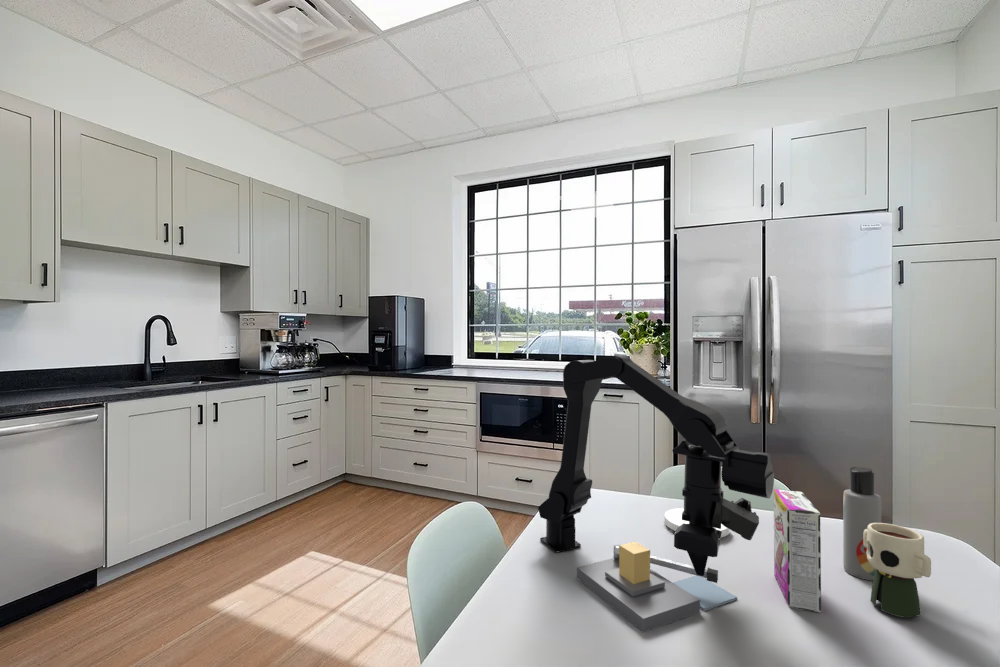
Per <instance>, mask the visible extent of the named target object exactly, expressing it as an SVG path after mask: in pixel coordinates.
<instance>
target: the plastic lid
mask: <svg viewBox="0 0 1000 667" xmlns="http://www.w3.org/2000/svg"><path fill="white" fill-rule="evenodd" d="M683 511H684V507H679V508H671V509H669V510H667V511H665V512H664V515H663V516H664V517H663V518H664V520H663V522H664V524H665V526H666V527H668V528H669V529H670V530H673V531H674V532H676V530H677V528H678V527H679V526H681V525H682V524H683V523H684V524H689V521H685V520H682V513H683ZM715 529H716V530H719V531H721V532H722V534H721V538H725V537H726V536H728V535H729V534H730V529H728V528H727V527H725V526H723V525H722V524H721V529H718V528H715ZM721 538H720V539H721Z"/></svg>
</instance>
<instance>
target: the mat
mask: <svg viewBox="0 0 1000 667" xmlns="http://www.w3.org/2000/svg"><path fill="white" fill-rule="evenodd" d="M671 582H672V581H671ZM672 583H674V584H675V585H677V586H679V587H680V588H682V589H683V590H685V591H687V592H688V593H690V594H691V595H693V596H695V597H696V598H698V599H699V600H700V610H702V611H703V612H704V611H708V610H710V609H714V608H717V607H719V606H720V607H721V606H722V605H726V604H727V603H730V602H733V601H736V600H738V596H737V595H735V594H733V593H731V592H729V591H728V590H726V589H724V588H722V587H721V586H719V585H717V583H715V582H711V581H707V578H704V577H700V576H697V575H694V576H690V577H686V578H683V579H680V580H677V581H673V582H672Z"/></svg>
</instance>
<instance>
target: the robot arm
mask: <svg viewBox="0 0 1000 667" xmlns="http://www.w3.org/2000/svg"><path fill="white" fill-rule="evenodd" d="M562 371H563V372H562V381H563V382H562V383H563V386H562V387H563V390H564V394H565V397H566V399H567V410H566V411H567V412H566V418H565V425H564V427H565V428H564V435H563V441H562V442H563V444H562V451H561V460H560V467H559V469H558V471H557V472H556V475H555V476H554V478H553V480H552V482H551V486H550V489H549V492H548V493H549V494H548V497H547V499H545V501H543V502H542V503H541V504H540V505H539V506H537V510H538V513H539V517H540V518H541V519H544V520H546V527H545V528H546V530H545V531H546V532H545V533H546V536H542V537H540V539H539V541H540V542H542V543H543V544H544V545H545V546H547V547H548V548H549V549H551V550H552V551H553V552H555V553H560V552H564V551H569V550H573V549H578V548H581V547H582V544H581V543H580V542H579V541H577V540H576V518H575V515H576V514H580V513H581V512H582V508H583V507H584V506H585V505H586V504H587V503H588V501H589V499H592V494H591V492H592V491H591V489H592V486H593V479H590V478H587V476H586V473H585V461H586V454H587V453H586V452H587V444H588V435H589V429H590V428H589V427H590V419H591V411H592V404H593V402H594V400H595V399H596V397H597V395H598V394H599V392H600V389H601V387H602V382H603V381H604V380H607V379H608V380H609V379H612V378H616V379H618V381H620V382H621V383H623V384H624V385H625V386H626V387H628V388H629V389H630V390H632V391H633V392H634V393H636V394H637V395H639V397H642V398H643V400H645V401H647V402H648V403H649V404H651V405H652V406H653V407H655V408H656V409H657V410H658V411H659V412H661V413H662V414H664V416H666V417H667V419H668V420H669V423H670V424H671V425H672V427H673V428H674V430H676V432H677V433H679V434H680V435H681V437H682V438H683V440H681V442H680V443H679V444H678V445H676V446H675V447H674V448H672V450H671V451H672V453H673V454H676V455H683V456H684V481H683V482H684V485H683V486H684V487H683V488H682V493H681V494H682V496H683V508H684V511H683V513H682V520H685V521H689V524H684V523H683V524H682V525H681V526H679V527H678V528H677V530H676V531H674V535H673V536H674V537H673V547H674V548H675V549H677V550H681V551H684V552H687V554H688V557H689V558H690V562H691V564H692V566H693V567H694V569H695V572H696V574H697V575H700V576H704V572H705V569H706V568H707V563H708V559H709V557H711V558H717V557H718V554H719V547H720V542H721V534H722V532H721V531H719V530H716V529H715V528H718V529H721V524H722V525H723V526H725V527H727V528H728V529H729V531H732V532H734V533H736V534H738V535H740V536H741V538H743V539H744V540H748V541H752V539H753V537H754V534H755V533H756V531H757V528H758V526H759V524H760V517H759V515H757V512H755V511H753V512H752V503H751V501H749V500H747V499H745V498H744V497H741V498H739V499H738V500H736V501H734V500H731V501H730V500H727V499H725V498H724V490H722V487H721V486H722V482H723V485H724V486H726V487H727V488H728V490H730V491H734V492H738V493H742V494H747V495H749V496H750V495H752V496H755V497H760V498H764V499H770V498H771V496H772V494H773V492H774V491H773V490H774V486H775V472H774V471H773V464H772V462H771V454H770V453H767V452H763V451H761V452H760V451H757V452H755V451H749V450H742V449H740V446H739V445H738V444H737V442H736V440H734V438H733V436H732V435H731V434H730V433H729V431H728V430H727V426H726V425H727V424H726V420H725V418H724V416H723V415H722V413H720V412H719V411H717V410H716V409H714V408H711V407H709V406H707V405H705V404H703V403H702V402H698V401H696V400H693V399H689V398H687V397H685V396H683V395H682V394H679V393H678V392H677V391H676V390H674V389H672V388H671V387H670V386H668V385H666V384H665V383H664V382H663V381H662V380H660V379H659V378H656V377H655V376H654V375H652V374H651V373H650V372H648V371H646V369H644V368H643V367H641V366H640V365H638V364H637V363H636V362H634V361H633V360H632V359H631V358H630V357H629V356H627V355H614V356H611V357H609V358H604V359H599V360H593V359H585V360H584V359H582V360H571V361H569V362H568V363H567V364H566V365H565V366H564V367H563V370H562ZM682 496H681V497H682Z"/></svg>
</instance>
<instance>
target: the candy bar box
mask: <svg viewBox="0 0 1000 667" xmlns="http://www.w3.org/2000/svg"><path fill="white" fill-rule="evenodd" d="M772 492H773V558H774V560H773V562H774V563H773V564H774V565H773V566H774V568H773V571H774V572H773V574H774V577H775V579H776V581H777V584H778V586H779V589H780V591H781V592H782V595H783V597H784V599H785V602H786V604H787V605H788V607H789V608H791V609H796V610H803V611H808V612H809V611H810V612H813V613H820V614H821V613H822V565H821V564H822V562H821V561H822V560H821V559H822V557H821V555H822V554H821V553H822V552H821V550H822V548H821V547H822V545H821V544H822V543H821V542H822V541H821V513H820V511H819V510H818V509H817V508H816V507H815V505H814V504H813V503H812V502H811V501H810V500H809V498H808V497H807V496H806V495H805V494H804V492H802V491H799V490H798V491H797V490H790V489H788V490H787V489H782V488H780V489H779V488H777V489H775V488H773V491H772Z"/></svg>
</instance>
